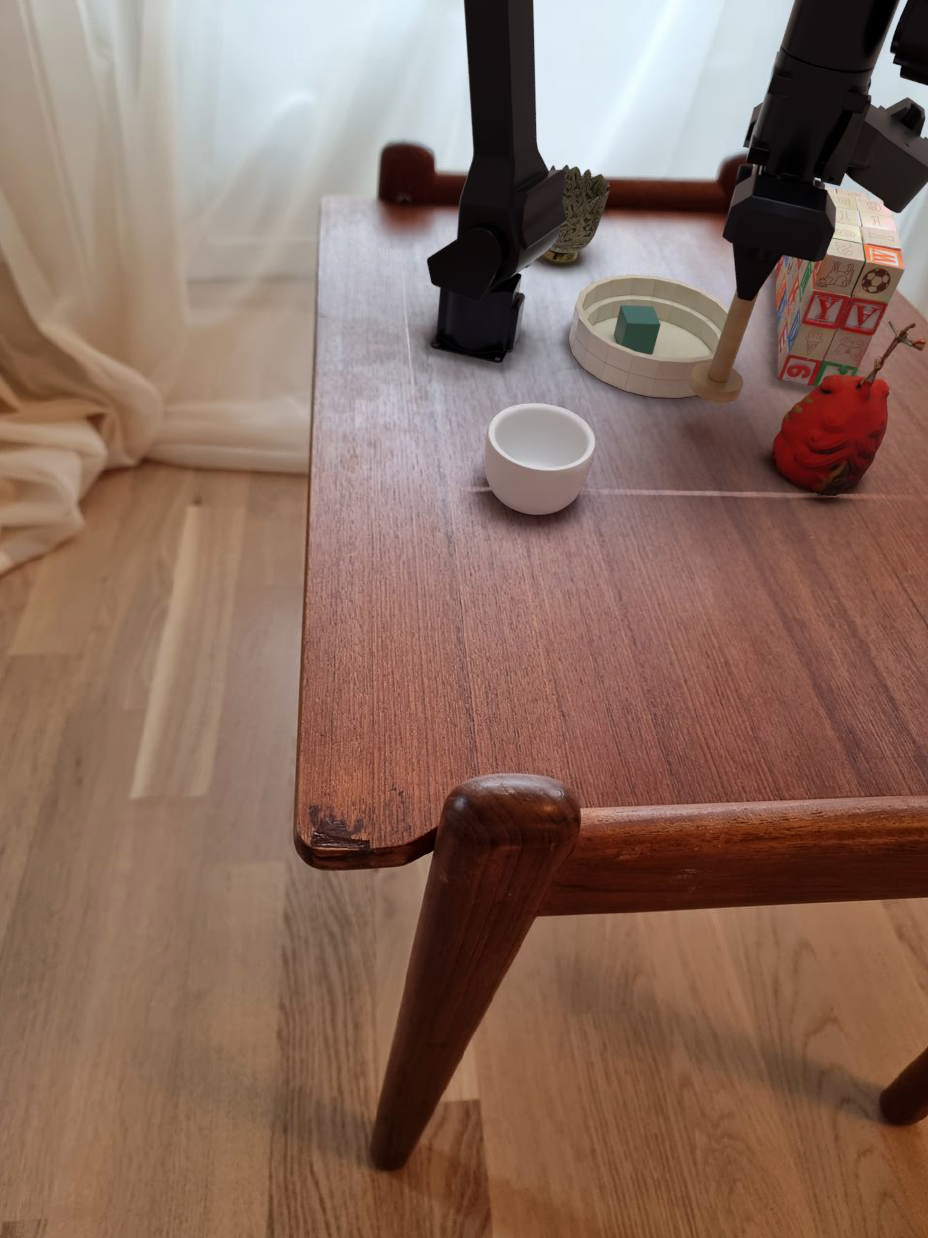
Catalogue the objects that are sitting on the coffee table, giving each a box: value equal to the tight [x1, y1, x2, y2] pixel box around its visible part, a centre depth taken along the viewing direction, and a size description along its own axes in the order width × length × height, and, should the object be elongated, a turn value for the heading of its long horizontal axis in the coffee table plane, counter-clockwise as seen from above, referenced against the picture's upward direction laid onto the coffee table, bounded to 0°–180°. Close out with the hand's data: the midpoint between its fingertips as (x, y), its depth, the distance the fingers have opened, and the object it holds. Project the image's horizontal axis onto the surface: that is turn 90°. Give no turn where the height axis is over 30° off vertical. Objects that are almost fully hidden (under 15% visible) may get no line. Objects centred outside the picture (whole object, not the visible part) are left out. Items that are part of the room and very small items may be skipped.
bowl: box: [568, 273, 730, 399], centre depth 86 cm, size 14×14×4 cm
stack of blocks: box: [775, 186, 906, 388], centre depth 89 cm, size 21×6×12 cm, turn 168°
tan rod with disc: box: [689, 288, 761, 404], centre depth 72 cm, size 4×4×12 cm
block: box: [614, 305, 661, 354], centre depth 87 cm, size 3×3×3 cm
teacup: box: [484, 402, 596, 516], centre depth 71 cm, size 10×8×5 cm
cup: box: [540, 164, 611, 266], centre depth 95 cm, size 8×7×8 cm
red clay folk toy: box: [771, 320, 927, 497], centre depth 72 cm, size 8×7×15 cm
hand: (745, 292), depth 70 cm, fingers closed on tan rod with disc, 2 cm apart
